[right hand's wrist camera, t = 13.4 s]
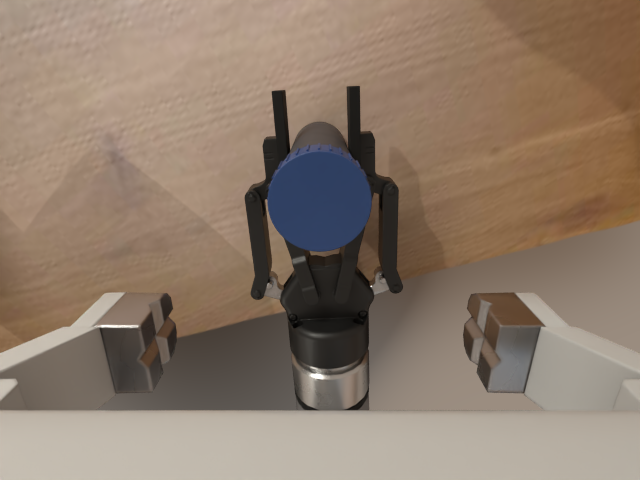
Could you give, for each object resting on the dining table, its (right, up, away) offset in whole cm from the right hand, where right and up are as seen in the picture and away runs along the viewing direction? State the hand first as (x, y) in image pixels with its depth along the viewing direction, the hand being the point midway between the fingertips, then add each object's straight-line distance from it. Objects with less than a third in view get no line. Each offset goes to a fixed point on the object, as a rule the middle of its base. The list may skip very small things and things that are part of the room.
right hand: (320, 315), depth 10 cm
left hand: (0, +13, +19) cm, 23 cm away
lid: (0, +4, +10) cm, 11 cm away
